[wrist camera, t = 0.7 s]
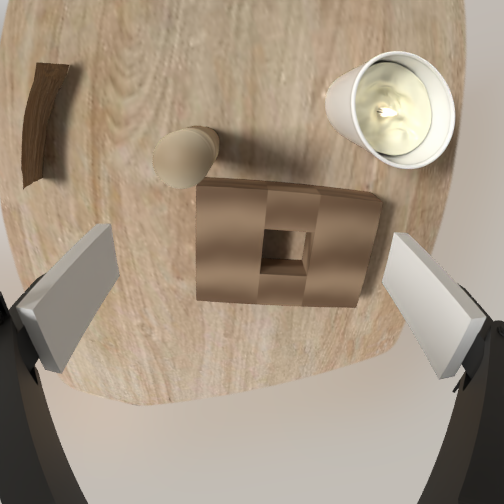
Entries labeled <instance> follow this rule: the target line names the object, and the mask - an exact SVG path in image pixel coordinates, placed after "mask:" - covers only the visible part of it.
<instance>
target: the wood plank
mask: <svg viewBox="0 0 504 504" xmlns="http://www.w3.org/2000/svg"><path fill="white" fill-rule="evenodd" d="M68 68H69V65H65V64H51V63H37V64H36V70H35V77H34V82H33V85H32V88H31V91H30V94H29V98H28V101H27V106H26V110H25V115H24V122H23V132H22V158H21V164H22V167H21V170H22V174H23V189H24V188H25V187H26V186H28V185H30V184H32V183H33V182H35V181H38V180H39V179H41V178H42V171H43V155H44V148H45V141H46V128H47V122H48V120H49V117H50V115H51V112H52V108H54V101H55V99H56V95H57V92H58V91H59V89H60V87H61V85H62V84H63V81H64V79H65V77H66V75H67V71H68Z"/></svg>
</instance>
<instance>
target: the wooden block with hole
mask: <svg viewBox="0 0 504 504" xmlns="http://www.w3.org/2000/svg"><path fill="white" fill-rule="evenodd" d="M382 205H383V202H382V201H381V200H380V199H378V198H377V197H376V196H374V195H373V194H372V193H371V192H364V191H357V190H349V189H341V188H332V187H324V186H314V185H305V184H294V183H283V182H272V181H259V180H245V179H229V178H210V177H204V179H203V180H202V181H201V182H199V183H198V184H197V186H196V299H197V300H198V301H211V302H226V303H242V304H260V305H281V306H308V307H349V308H356V306H357V303H358V299H359V296H360V293H361V289H362V286H363V282H364V279H365V275H366V272H367V268H368V264H369V260H370V257H371V253H372V249H373V245H374V241H375V237H376V232H377V228H378V224H379V219H380V215H381V210H382ZM264 229H272V230H286V231H300V232H306V239H305V245H304V251H303V257H302V260H288V259H271V258H261V257H262V247H263V237H264Z"/></svg>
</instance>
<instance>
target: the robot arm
mask: <svg viewBox="0 0 504 504" xmlns="http://www.w3.org/2000/svg"><path fill="white" fill-rule="evenodd" d="M119 276H120V275H119V270H118V264H117V259H116V253H115V247H114V241H113V234H112V228H111V224H96V225H95V226H94V227H93V228H92V229H91V230H90V231H89V232H88V233H86V234H85V235H84V236H83V237H82V238H81V239H80V240H79V241H78V242H77V243H76V244H75V245H74V246H73V247H72V248H71V249H70V250H69V251H68V252H67V253H66V254H65V255H64V256H63V257H62V258H61V259H60V260H59V261H58V262H57V263H56V264H55V265H54V266H53V267H52V268H51V269H50V270H49V271H48V272H47V273H45V274H44V275H42V276H40V277H39V278H37V279H36V280H35V281H34V282H33V283H32V284H31V285H30V288H28V289H27V290H26V291H25V293H23V294H22V295H21V297H20V298H19V299H18V300H17V301H16V302H15V303H14V304H13V305H12V307H11V308H10V309H9V310H8V308H7V306H6V303H5V301H4V298H3V295H2V293H1V292H0V500H1V503H2V504H88V502H87V501H86V499H85V497H84V495H83V493H82V491H81V489H80V487H79V485H78V483H77V481H76V478H75V476H74V474H73V472H72V470H71V467H70V465H69V463H68V460H67V458H66V456H65V453H64V451H63V448H62V446H61V443H60V441H59V438H58V435H57V433H56V430H55V427H54V424H53V421H52V418H51V415H50V412H49V408H48V405H47V402H46V399H45V395H44V392H43V388H42V385H41V381H40V377H39V373H38V370H37V369H36V367H35V363H36V362H37V360H38V359H40V361H41V363H42V364H43V366H44V368H45V370H49V371H53V372H57V373H61V374H62V372H63V370H64V368H65V366H66V365H67V363H68V361H69V359H70V357H71V355H72V354H73V352H74V350H75V348H76V346H77V345H78V343H79V341H80V339H81V338H82V336H83V334H84V332H85V331H86V329H87V327H88V326H89V324H90V322H91V321H92V319H93V317H94V316H95V314H96V312H97V311H98V309H99V307H100V306H101V304H102V303H103V301H104V299H105V298H106V296H107V295H108V293H109V291H110V290H111V288H112V287H113V285H114V284H115V282H116V280H117V279H118V277H119ZM382 283H383V285H384V286H385V288H386V290H387V291H388V293H389V294H390V296H391V298H392V299H393V301H394V302H395V304H396V306H397V307H398V309H399V310H400V312H401V314H402V315H403V317H404V319H405V320H406V322H407V323H408V325H409V327H410V329H411V330H412V332H413V334H414V335H415V337H416V339H417V341H418V342H419V344H420V346H421V348H422V349H423V351H424V353H425V355H426V356H427V358H428V360H429V362H430V364H431V366H432V367H433V369H434V371H435V373H436V375H437V377H438V378H439V379H444V378H449V377H453V376H455V374H456V373H457V371H458V369H459V368H460V366H461V364H462V365H463V367H464V369H465V372H464V374H463V376H462V377H461V379H460V380H459V382H458V384H457V385H456V387H455V388H454V390H453V392H454V393H455V391H456V390H457V389H459V390H458V394H457V397H456V401H455V405H454V409H453V412H452V416H451V419H450V422H449V425H448V428H447V432H446V435H445V438H444V441H443V444H442V446H441V449H440V452H439V455H438V457H437V460H436V462H435V465H434V467H433V470H432V472H431V475H430V477H429V480H428V482H427V484H426V486H425V488H424V491H423V493H422V495H421V497H420V499H419V501H418V503H417V504H504V322H503V321H493V320H492V319H491V318H490V317H489V315H488V314H487V313H486V312H485V311H484V310H483V309H482V307H481V306H480V305H479V304H478V303H477V301H476V300H475V299H474V298H473V297H471V295H470V294H469V292H468V291H467V290H466V289H465V288H463V287H462V286H461V285H459V284H458V283H456V282H455V281H454V279H453V278H452V277H451V276H450V275H449V274H448V273H447V272H446V271H445V270H444V269H443V268H442V267H441V266H440V265H439V264H438V263H437V262H436V261H435V260H434V259H433V257H432V256H431V255H430V254H429V253H428V252H427V251H426V250H425V249H424V248H422V247H421V246H420V245H419V244H418V243H417V242H416V241H415V240H414V239H413V238H412V237H411V236H410V235H409V234H408V233H399V232H394V235H393V240H392V244H391V248H390V253H389V257H388V261H387V265H386V269H385V273H384V276H383V280H382Z"/></svg>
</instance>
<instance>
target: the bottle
mask: <svg viewBox="0 0 504 504" xmlns="http://www.w3.org/2000/svg"><path fill="white" fill-rule="evenodd" d="M219 144H220V141H219V137H218V135H217V133H216V132H215V131H214V130H213V129H211V128H208V127H202V126H191V127H188V128H185V129H182V130H179V131H176V132H173V133H170V134H168V135H166V136H165V137H163V138H162V139H161V140H160V141H159V142H158V144H157V145H156V147H155V150H154V152H153V168H154V171H155V173H156V175H157V176H158V178H159V179H160V180H161V181H162V182H163V183H165V184H166V185H168V186H170V187H173V188H177V189H186V188H190V187H193V186H195V185H197V184H198V183H199V182H201V181H202V180H203V179H204V177H205V176H206V174H207V173H208V171H209V170H210V168H211V166H212V165H213V163H214V162H215V160H216V158H217V156H218V153H219Z"/></svg>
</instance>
